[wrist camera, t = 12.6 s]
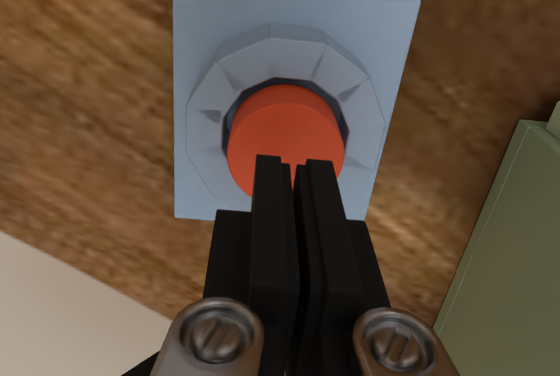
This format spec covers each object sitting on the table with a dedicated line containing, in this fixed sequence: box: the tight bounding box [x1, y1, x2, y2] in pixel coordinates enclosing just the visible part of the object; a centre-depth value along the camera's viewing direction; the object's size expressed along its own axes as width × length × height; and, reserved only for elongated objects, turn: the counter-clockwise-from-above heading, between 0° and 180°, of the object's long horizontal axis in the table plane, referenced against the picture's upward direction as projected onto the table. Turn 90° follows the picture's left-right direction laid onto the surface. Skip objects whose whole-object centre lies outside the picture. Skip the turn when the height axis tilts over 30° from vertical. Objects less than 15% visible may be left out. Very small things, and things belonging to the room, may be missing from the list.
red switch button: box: [227, 84, 344, 197], centre depth 15 cm, size 4×4×2 cm
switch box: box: [173, 0, 421, 221], centre depth 17 cm, size 10×8×4 cm
